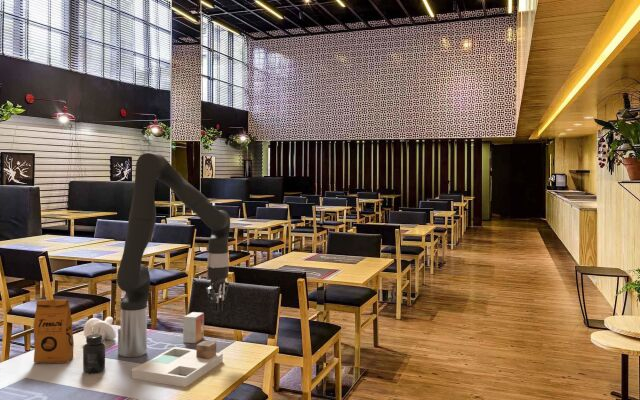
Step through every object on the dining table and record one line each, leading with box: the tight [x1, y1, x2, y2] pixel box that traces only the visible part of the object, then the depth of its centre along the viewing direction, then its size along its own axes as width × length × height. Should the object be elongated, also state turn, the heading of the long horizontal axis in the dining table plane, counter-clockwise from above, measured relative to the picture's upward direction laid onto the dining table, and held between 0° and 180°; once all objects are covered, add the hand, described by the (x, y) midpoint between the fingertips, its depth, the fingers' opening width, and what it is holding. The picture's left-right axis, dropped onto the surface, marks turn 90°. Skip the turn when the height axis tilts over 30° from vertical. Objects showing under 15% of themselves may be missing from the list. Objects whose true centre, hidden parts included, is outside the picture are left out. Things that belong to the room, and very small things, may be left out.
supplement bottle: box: [82, 334, 106, 375], centre depth 170 cm, size 7×7×12 cm
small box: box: [182, 311, 205, 344], centre depth 205 cm, size 8×6×10 cm
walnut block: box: [195, 340, 217, 359], centre depth 178 cm, size 5×5×4 cm
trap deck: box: [131, 346, 223, 388], centre depth 173 cm, size 20×24×3 cm
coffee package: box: [33, 299, 75, 364], centre depth 179 cm, size 10×12×22 cm
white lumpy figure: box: [83, 316, 117, 341], centre depth 202 cm, size 11×12×9 cm
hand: (217, 311), depth 185 cm, fingers open, 2 cm apart
